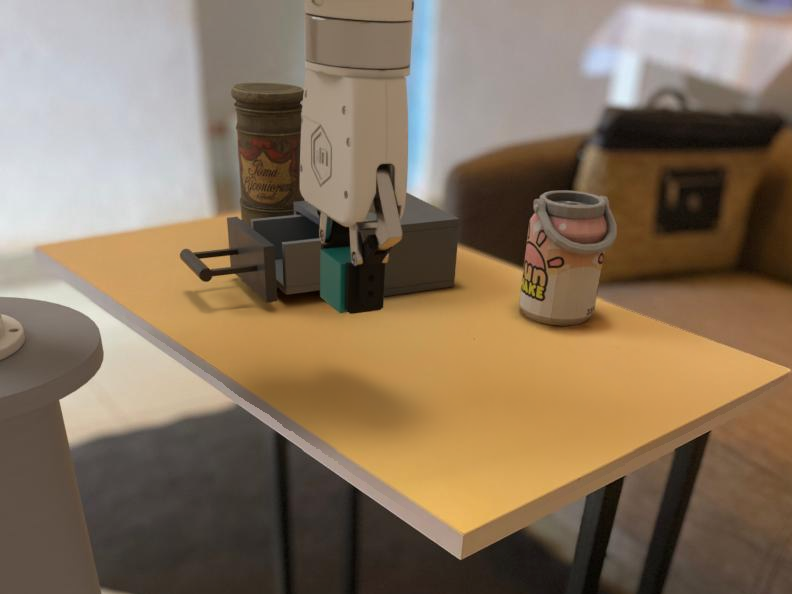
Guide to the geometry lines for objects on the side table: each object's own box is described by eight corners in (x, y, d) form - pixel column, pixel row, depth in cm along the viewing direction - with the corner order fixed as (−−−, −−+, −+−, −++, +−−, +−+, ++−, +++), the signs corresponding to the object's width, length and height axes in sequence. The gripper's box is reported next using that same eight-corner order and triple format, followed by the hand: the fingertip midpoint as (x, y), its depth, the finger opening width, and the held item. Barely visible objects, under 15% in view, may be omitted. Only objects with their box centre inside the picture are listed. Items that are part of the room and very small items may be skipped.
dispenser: (339, 303, 91) (339, 231, 86) (295, 268, 100) (293, 201, 95) (454, 286, 97) (459, 218, 92) (403, 255, 106) (405, 191, 101)
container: (243, 234, 110) (232, 79, 99) (311, 237, 110) (308, 83, 100) (234, 255, 103) (222, 90, 92) (308, 258, 103) (304, 94, 93)
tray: (208, 311, 85) (203, 253, 82) (177, 276, 93) (170, 222, 90) (381, 287, 93) (382, 233, 90) (338, 257, 101) (338, 207, 98)
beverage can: (613, 328, 88) (636, 209, 81) (542, 335, 86) (559, 213, 79) (571, 298, 95) (589, 186, 88) (504, 303, 93) (517, 189, 86)
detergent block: (339, 313, 68) (340, 264, 65) (319, 297, 70) (319, 248, 68) (383, 307, 69) (386, 259, 67) (362, 291, 72) (364, 244, 70)
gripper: (265, 32, 63) (272, 273, 74) (362, 64, 52) (354, 344, 62) (354, 34, 66) (349, 265, 77) (465, 65, 55) (440, 331, 65)
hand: (351, 298), depth 70 cm, fingers closed on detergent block, 4 cm apart
